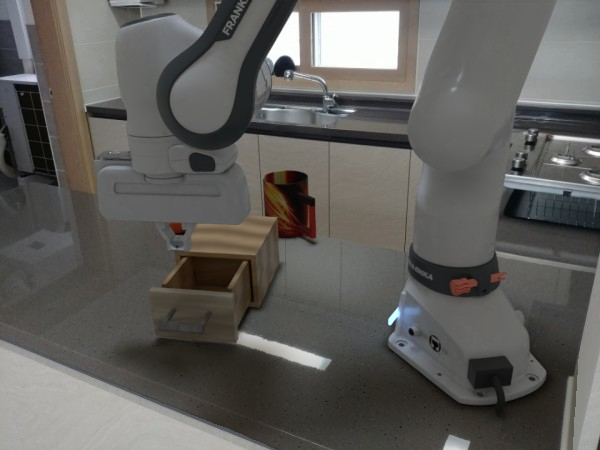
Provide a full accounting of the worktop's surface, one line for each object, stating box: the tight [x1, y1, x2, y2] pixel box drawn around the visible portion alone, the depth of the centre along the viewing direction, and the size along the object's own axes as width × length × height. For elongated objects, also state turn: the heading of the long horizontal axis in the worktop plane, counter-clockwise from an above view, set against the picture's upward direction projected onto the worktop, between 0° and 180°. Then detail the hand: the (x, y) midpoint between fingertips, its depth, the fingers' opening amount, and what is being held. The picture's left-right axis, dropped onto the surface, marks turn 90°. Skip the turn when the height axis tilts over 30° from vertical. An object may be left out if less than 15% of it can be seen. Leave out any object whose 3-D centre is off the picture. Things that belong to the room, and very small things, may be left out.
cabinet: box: [173, 215, 281, 309], centre depth 95 cm, size 16×14×10 cm
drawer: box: [148, 256, 253, 344], centre depth 83 cm, size 19×13×8 cm, turn 170°
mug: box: [262, 169, 317, 240], centre depth 115 cm, size 10×14×12 cm
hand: (180, 249), depth 73 cm, fingers closed
